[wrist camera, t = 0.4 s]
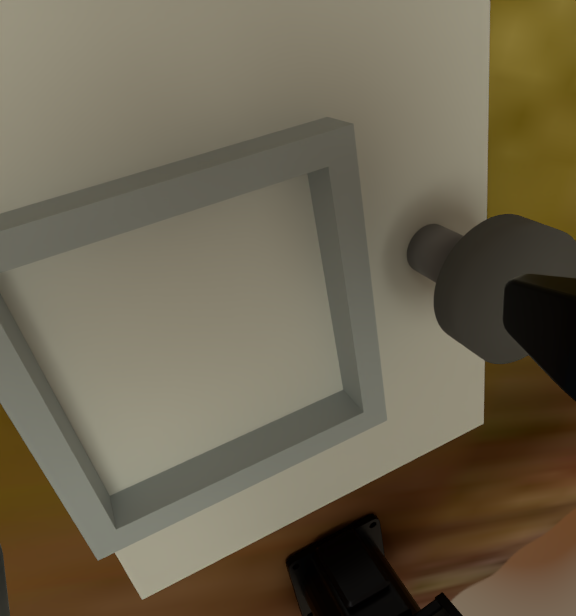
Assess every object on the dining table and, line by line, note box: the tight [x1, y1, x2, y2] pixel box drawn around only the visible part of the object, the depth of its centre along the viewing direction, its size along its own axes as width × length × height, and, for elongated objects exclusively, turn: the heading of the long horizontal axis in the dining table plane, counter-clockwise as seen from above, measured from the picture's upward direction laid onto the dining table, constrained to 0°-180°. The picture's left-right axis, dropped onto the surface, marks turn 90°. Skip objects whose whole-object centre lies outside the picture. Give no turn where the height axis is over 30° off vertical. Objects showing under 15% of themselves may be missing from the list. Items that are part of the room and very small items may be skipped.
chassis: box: [0, 0, 490, 600], centre depth 23 cm, size 27×22×3 cm
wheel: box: [434, 214, 576, 364], centre depth 21 cm, size 6×6×3 cm
